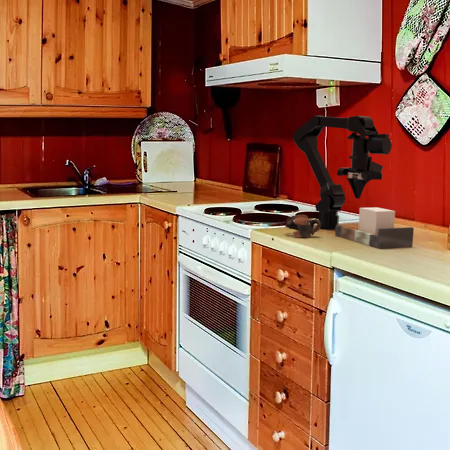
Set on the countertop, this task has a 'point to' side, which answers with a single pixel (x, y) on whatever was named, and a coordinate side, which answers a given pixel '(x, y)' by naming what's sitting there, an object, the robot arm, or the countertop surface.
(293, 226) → the pottery mug
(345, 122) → the robot arm
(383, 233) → the box
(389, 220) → the block
